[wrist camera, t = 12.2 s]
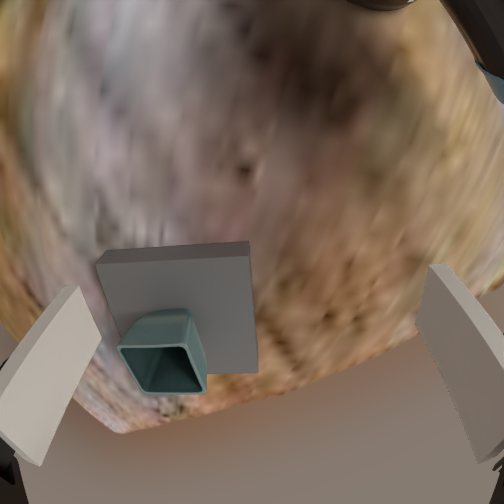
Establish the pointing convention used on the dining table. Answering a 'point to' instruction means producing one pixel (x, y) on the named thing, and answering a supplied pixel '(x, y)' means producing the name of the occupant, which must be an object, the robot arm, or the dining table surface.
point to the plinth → (189, 295)
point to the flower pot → (165, 353)
